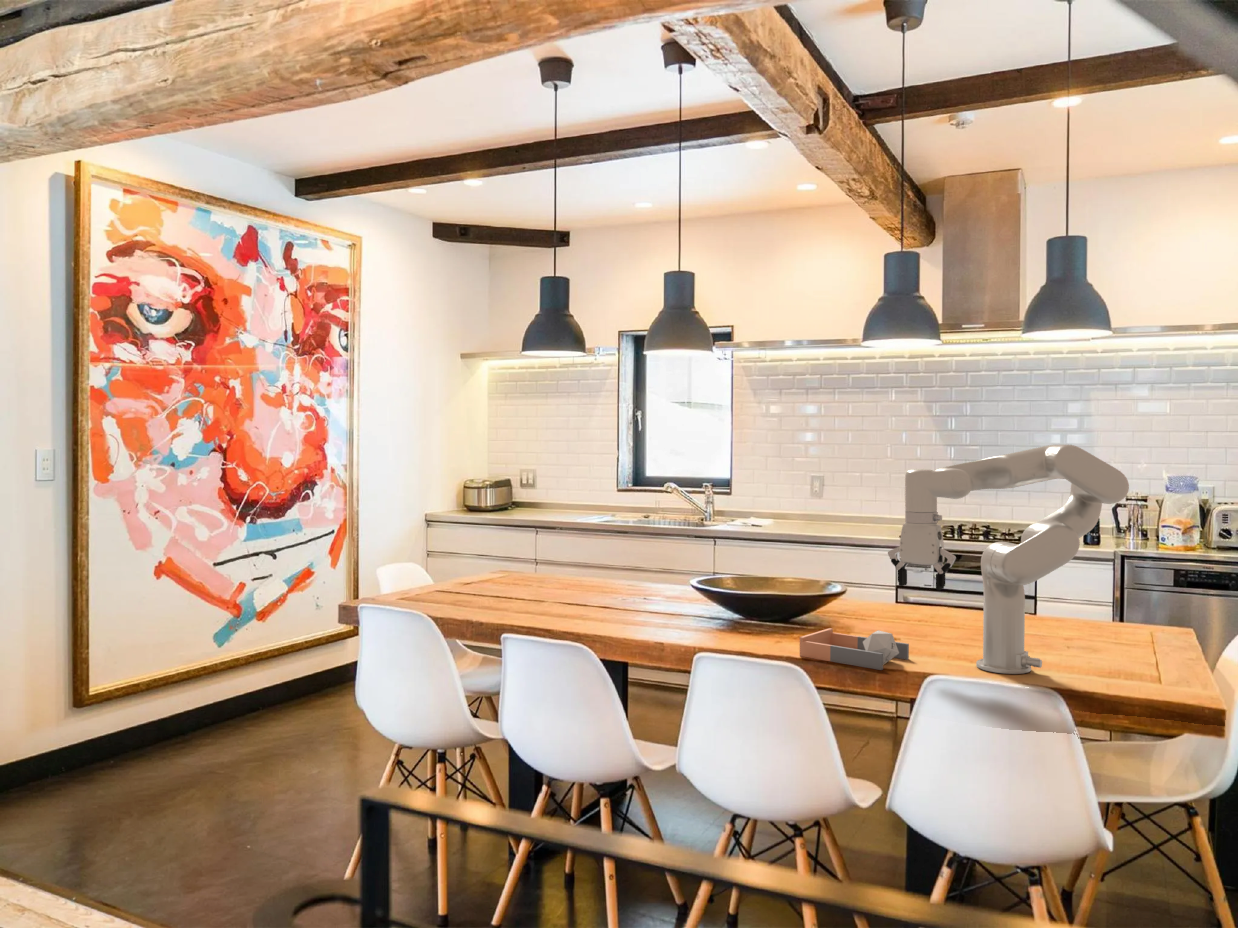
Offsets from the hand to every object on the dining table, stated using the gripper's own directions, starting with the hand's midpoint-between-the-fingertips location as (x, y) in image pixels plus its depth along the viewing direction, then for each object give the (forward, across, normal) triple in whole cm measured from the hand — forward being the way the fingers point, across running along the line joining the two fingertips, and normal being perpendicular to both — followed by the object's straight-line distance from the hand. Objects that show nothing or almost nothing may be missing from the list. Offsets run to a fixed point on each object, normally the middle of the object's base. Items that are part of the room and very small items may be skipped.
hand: (921, 587), depth 227 cm
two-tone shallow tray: (+20, +18, +1) cm, 27 cm away
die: (+20, +11, +1) cm, 23 cm away
